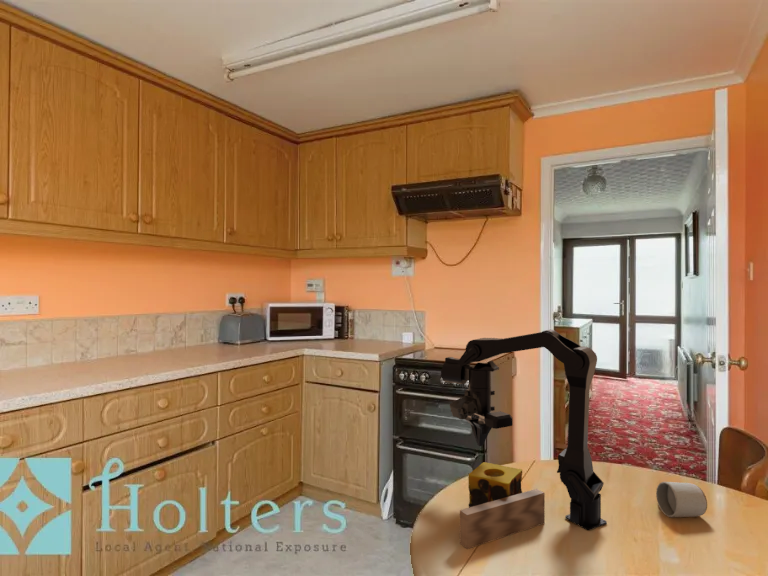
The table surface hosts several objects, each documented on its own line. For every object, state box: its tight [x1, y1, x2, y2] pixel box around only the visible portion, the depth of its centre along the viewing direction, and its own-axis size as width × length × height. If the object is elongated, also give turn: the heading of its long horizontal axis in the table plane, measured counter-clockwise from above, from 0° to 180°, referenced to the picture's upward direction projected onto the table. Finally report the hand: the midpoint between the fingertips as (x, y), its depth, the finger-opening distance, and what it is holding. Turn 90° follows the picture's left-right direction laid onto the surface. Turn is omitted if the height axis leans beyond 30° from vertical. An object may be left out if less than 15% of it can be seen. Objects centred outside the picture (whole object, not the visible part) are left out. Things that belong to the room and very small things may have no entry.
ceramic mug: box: [655, 481, 708, 518], centre depth 114 cm, size 11×8×8 cm
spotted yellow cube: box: [467, 461, 523, 508], centre depth 113 cm, size 10×10×10 cm
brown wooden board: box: [459, 488, 546, 550], centre depth 104 cm, size 22×2×7 cm, turn 118°
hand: (480, 445), depth 125 cm, fingers closed
